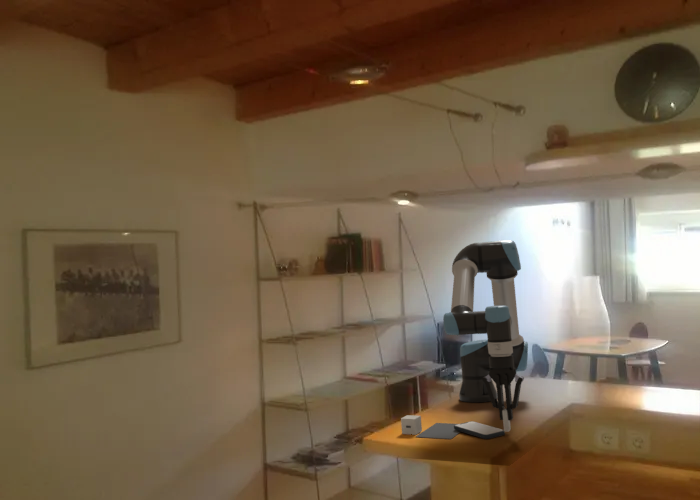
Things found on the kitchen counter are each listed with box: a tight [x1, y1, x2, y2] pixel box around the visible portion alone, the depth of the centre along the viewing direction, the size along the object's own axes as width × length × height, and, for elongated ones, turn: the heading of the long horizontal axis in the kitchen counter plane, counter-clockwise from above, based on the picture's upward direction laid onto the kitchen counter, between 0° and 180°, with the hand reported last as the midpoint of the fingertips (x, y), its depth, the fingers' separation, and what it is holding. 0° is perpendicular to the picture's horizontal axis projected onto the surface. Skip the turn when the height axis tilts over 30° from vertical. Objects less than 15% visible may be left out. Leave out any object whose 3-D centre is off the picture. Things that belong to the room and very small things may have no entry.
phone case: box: [454, 420, 506, 440], centre depth 203 cm, size 9×2×16 cm
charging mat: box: [415, 422, 462, 440], centre depth 209 cm, size 19×12×1 cm, turn 152°
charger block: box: [400, 414, 423, 436], centre depth 210 cm, size 5×5×5 cm
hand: (507, 430), depth 199 cm, fingers closed
